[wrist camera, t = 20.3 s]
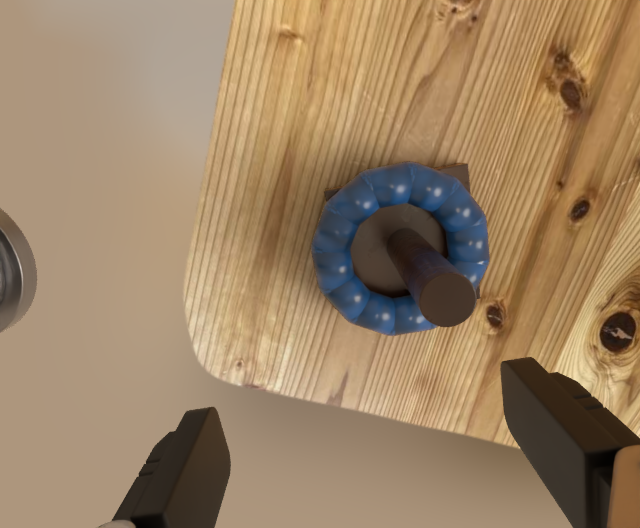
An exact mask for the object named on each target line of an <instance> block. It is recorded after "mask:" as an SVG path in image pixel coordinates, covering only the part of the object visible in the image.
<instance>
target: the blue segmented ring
mask: <svg viewBox="0 0 640 528" xmlns="http://www.w3.org/2000/svg"><path fill="white" fill-rule="evenodd" d="M405 203H407V204H410V205H413V206H416V207H418V208H421V209H424V210H427V211H430V212H431V213H432V214H433V216H434V217H435V218H436V219H437V221H438V222H439V223H440V224H441V226H442V227H443V228H444V229H445V231H446V239H447V248H448V257H447V260H448V261H449V262H450V263H451V264H452V265H453V266H454V267H455V268H456V269H457V270H458V271H460V272H461V273H462V274H463V275H464V276H465V277H466V278H467V279H468V280H469V281H470V282H471V283H472V284H473V286H474V288H475V290H476V289H477V287H478V285H479V283H480V281H481V279H482V277H483V275H484V273H485V271H486V268H487V266H488V264H489V260H490V255H489V244H488V232H487V221H486V216H485V214H484V212H483V211H482V209H481V208H480V207H479V205H478V204H477V203H476V201H475V200H474V199H473V198H472V196H471V195H470V194H469V192H468V191H467V190H466V188H465V187H464V186H463V184H462V183H461V182H460V181H459V180H458V179H457V178H456V177H454V176H452V175H449V174H446V173H443V172H441V171H438V170H435V169H432V168H430V167H427V166H424V165H421V164H419V163H416V162H410V161H409V162H402V163H397V164H392V165H387V166H382V167H377V168H372V169H367V170H364V171H362V172H360V173H359V174H358V175H356V176H355V177H354V178H353V179H352V180H351V181H350V182H348V183H347V184H346V185H345V186H344V187H343V188H341V189H340V190H339V191H338V192H337V193H336V194H335V195H333V196H332V197H331V198H330V199H329V200H328V201H327V202H326V204H325V206H324V208H323V211H322V214H321V217H320V220H319V223H318V225H317V228H316V231H315V234H314V237H313V240H312V243H311V253H312V257H313V262H314V267H315V272H316V277H317V282H318V286H319V289H320V291H321V293H322V294H323V295H324V296H325V297H326V298H327V299H328V300H329V302H330V303H331V304H332V305H333V306H334V307H335V308H336V309H337V310H338V311H339V312H340V314H341V315H342V316H343V317H344V318H345V319H346V320H347V321H348V322H350V323H352V324H354V325H357V326H360V327H364V328H367V329H370V330H373V331H376V332H379V333H382V334H385V335H389V336H395V335H401V334H407V333H413V332H419V331H425V330H431V329H434V328H436V327H438V326H436V325H434V324H432V323H430V322H429V321H427V320H426V319H425V318H424V316H423V315H422V313H421V311H420V309H419V308H418V306H417V304H416V302H415V301H414V299H413V297H412V295H408V296H403V297H397V298H390V297H387V296H384V295H381V294H379V293H376V292H373V291H370V290H369V289H368V288H367V287H366V286H365V285H364V284H363V282H362V281H361V280H360V279H359V278H358V277H357V276H356V274H355V273H354V269H353V263H352V258H351V252H350V248H351V245H352V243H353V240H354V237H355V235H356V232H357V229H358V227H359V225H360V224H361V223H363V222H364V221H365V220H366V219H367V218H369V217H370V216H371V215H372V214H373V213H375V212H376V211H377V210H378V209H379V208H384V207H389V206H394V205H399V204H405Z"/></svg>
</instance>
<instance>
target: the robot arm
mask: <svg viewBox="0 0 640 528" xmlns="http://www.w3.org/2000/svg"><path fill="white" fill-rule="evenodd" d="M4 289H5V276H4V270H3V267H2V263H1V260H0V303H1V301H2V298H3V295H4ZM501 382H502V394H503V407H504V415H505V419H506V422H507V425H508V428H509V430H510V432H511V434H512V436H513V437H514V439H515V440H516V442H517V443H518V445H519V446H520V448H521V449H522V451H523V452H524V454H525V455H526V457H527V458H528V460H529V461H530V463H531V464H532V466H533V468H534V469H535V470H536V472H537V473H538V475H539V477H540V478H541V479H542V481H543V483H544V484H545V486H546V487H547V489H548V490H549V492H550V493H551V495H552V496H553V497H554V499H555V501H556V502H557V504H558V505H559V507H560V508H561V510H562V511H563V513H564V514H565V515H566V517H567V519H568V520H569V522H570V523H571V525H572V526H573V528H640V438H639V437H638V436H637V435H636V434H634V433H633V432H632V431H631V430H630V429H629V428H628V427H627V426H626V425H625V424H623V423H622V422H621V421H620V420H619V419H618V418H617V417H616V416H615V415H613V414H612V413H611V412H610V411H609V410H608V409H607V408H606V407H605V408H604V407H603V405H602V404H601V403H600V402H599V401H598V400H597V399H596V398H595V397H592V396H591V394H590V393H589V392H588V391H587V390H586V389H585V388H584V387H583V386H581V385H580V384H579V383H578V382H577V381H575V380H573V379H571V378H569V377H566V376H564V375H562V374H560V373H558V372H555V373H548V372H547V371H546V370H545V369H544V368H543V367H542V366H541V365H540V364H539V363H538V362H537V361H536V360H535V359H534V358H532V357H526V358H520V359H514V360H507V361H502V363H501ZM230 463H231V462H230V454H229V450H228V446H227V443H226V439H225V436H224V432H223V429H222V426H221V422H220V418H219V415H218V412H217V410H216V409H215V408H214V407H208V408H203V409H196V410H189V411H187V412H186V413H185V414H184V416H183V418H182V420H181V422H180V424H179V426H178V427H177V429H176V431H174V432H169V433H168V434H167V435H166V436H165V437H164V438H163V439H162V440H161V441H160V442H159V443H157V445H155V447H154V448H153V450H152V452H151V453H150V455H149V457H148V459H147V461H146V464H144V466H143V467H142V469H141V471H140V472H139V477H137V478H136V480H135V481H134V483H133V485H132V486H131V488H130V490H129V492H128V493H127V495H126V497H125V498H124V500H123V502H122V504H121V505H120V507H119V509H118V511H117V512H116V514H115V516H114V518H113V519H112V521H111V522H108V523H105V524H103V525H101V526H99V527H97V528H214V527H215V524H216V520H217V517H218V513H219V510H220V507H221V503H222V500H223V496H224V493H225V490H226V486H227V483H228V479H229V476H230V466H231V464H230Z"/></svg>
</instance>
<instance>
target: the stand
mask: <svg viewBox="0 0 640 528" xmlns="http://www.w3.org/2000/svg"><path fill="white" fill-rule="evenodd" d="M432 169H435V170H438V171H441V172H443V173H446V174H449V175H452V176H454V177H456V178H457V179H458V180H459V181H460V182H461V183H462V184H463V186H464V187H465V188H466V190H467V191H468V192H469V194H470V183H469V172H468V164H465V163H457V164H452V165H447V166H441V167H436V168H432ZM344 186H345V185H343V186H338V187H333V188H327V189H325V197H326V202H327V201H328V200H329V199H330V198H331V197H332V196H333V195H335V194H336V193H337V192H338V191H339V190H340V189H341V188H343V187H344ZM470 195H471V194H470ZM350 252H351V258H352V263H353V269H354V273H355V274H356V276H357V277H358V278H359V279H360V280H361V281H362V282H363V284H364V285H365V286H366V287H367V288H368V289H369V290H370V291H373V292H376V293H379V294H381V295H384V296H387V297H390V298H397V297H403V296H408V295H412V297H413V299H414V301H415V302H416V304H417V306H418V308H419V309H420V311H421V313H422V315H423V316H424V318H425V319H426V320H427V321H429V322H430V323H432V324H434V325H436V326H440V327H452V326H456V325H458V324H460V323H462V322H464V321H465V320H466V319H468V318H469V317H470V315H471V314H472V313H473V311H474V309H475V306H476V301H477V299H480V289H479V285H478V287H477V289H476V290H475V288H474V286H473V284H472V283H471V282H470V281H469V280H468V279H467V278H466V277H465V276H464V275H463V274H462V273H461V272H460V271H458V270H457V269H456V268H455V267H454V266H453V265H452V264H451V263H450V262H449V261H448V260H447V257H448V248H447V239H446V231H445V229H444V228H443V227H442V226H441V224H440V223H439V222H438V221H437V219H436V218H435V217H434V216H433V214H432V213H431V212H430V211H427V210H424V209H421V208H418V207H416V206H413V205H410V204H407V203H405V204H399V205H394V206H389V207H384V208H379V209H378V210H377V211H376V212H375V213H373V214H372V215H371V216H370V217H369V218H367V219H366V220H365V221H364V222H363V223H361V224H360V225H359V227H358V229H357V232H356V235H355V237H354V240H353V243H352V245H351V248H350Z"/></svg>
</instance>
